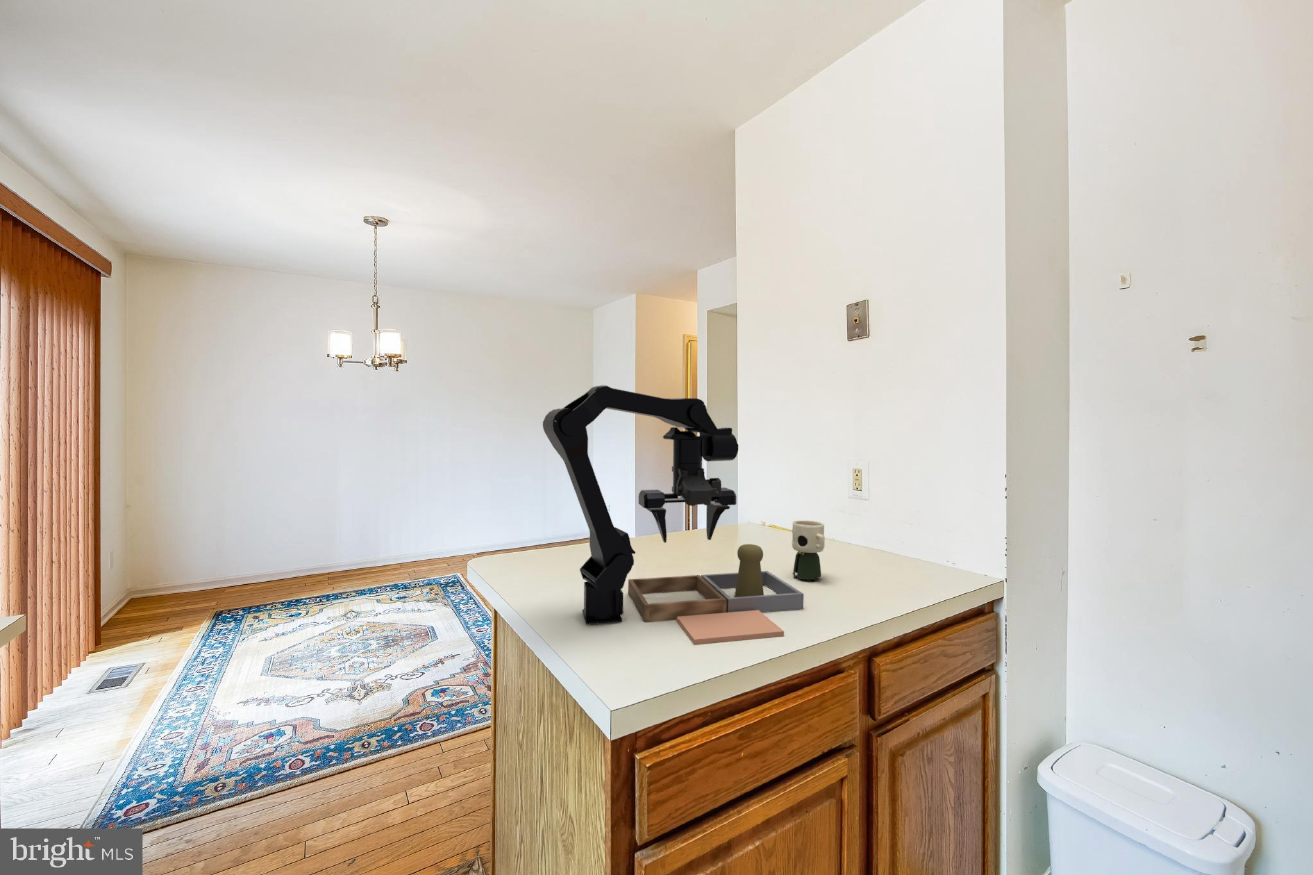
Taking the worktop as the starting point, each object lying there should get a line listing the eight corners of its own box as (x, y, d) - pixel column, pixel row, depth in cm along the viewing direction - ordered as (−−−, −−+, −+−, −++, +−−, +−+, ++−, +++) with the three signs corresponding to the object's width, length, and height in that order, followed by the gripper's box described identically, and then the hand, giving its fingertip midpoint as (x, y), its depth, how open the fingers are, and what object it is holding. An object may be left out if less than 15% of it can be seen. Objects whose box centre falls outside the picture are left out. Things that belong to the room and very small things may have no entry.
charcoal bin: (728, 615, 96) (728, 599, 96) (700, 588, 112) (701, 574, 111) (803, 608, 100) (803, 593, 100) (767, 584, 115) (767, 570, 115)
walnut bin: (644, 622, 92) (644, 605, 92) (628, 593, 108) (628, 579, 108) (726, 615, 96) (726, 599, 96) (699, 588, 111) (699, 574, 111)
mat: (694, 644, 84) (694, 639, 84) (676, 620, 93) (676, 616, 93) (784, 635, 87) (784, 631, 87) (758, 614, 97) (758, 609, 97)
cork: (764, 604, 102) (765, 549, 102) (733, 602, 103) (734, 547, 103) (764, 594, 108) (765, 542, 108) (735, 592, 109) (736, 540, 109)
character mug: (780, 573, 124) (781, 519, 123) (804, 570, 127) (805, 517, 126) (809, 587, 114) (810, 528, 113) (835, 583, 116) (836, 526, 116)
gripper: (651, 467, 92) (651, 554, 92) (748, 465, 96) (747, 548, 97) (638, 461, 102) (637, 539, 103) (726, 460, 107) (725, 534, 108)
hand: (687, 540), depth 102 cm, fingers open, 9 cm apart
